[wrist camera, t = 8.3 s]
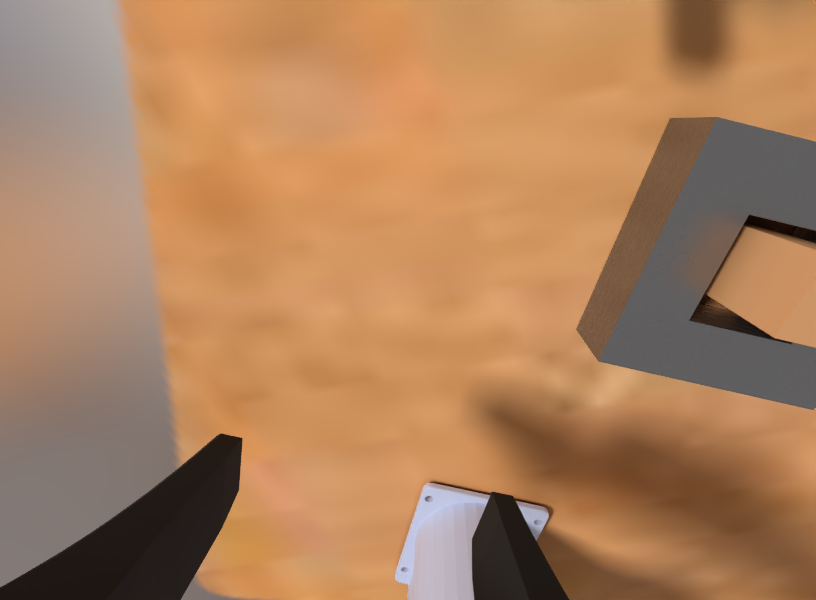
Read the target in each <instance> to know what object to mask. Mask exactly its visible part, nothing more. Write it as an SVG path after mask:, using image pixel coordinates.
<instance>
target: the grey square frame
mask: <svg viewBox="0 0 816 600" xmlns="http://www.w3.org/2000/svg"><path fill="white" fill-rule="evenodd" d="M749 215H753V216H757V217H761V218H765V219H769V220H774V221H778V222H782V223H786V224H790V225H794V226H796V228H795V229H794V231H793V232H792V234H791V236H794V237H797V238H800V239H803V240H806V241H810V242H813V243H816V142H815V141H811V140H807V139H803V138H799V137H795V136H791V135H787V134H783V133H779V132H775V131H771V130H766V129H762V128H758V127H754V126H750V125H746V124H742V123H738V122H734V121H730V120H726V119H722V118H718V117H705V118H670V120H669V123H668V125H667V127H666V129H665V132H664V134H663V136H662V138H661V141H660V143H659V145H658V147H657V150H656V152H655V154H654V156H653V159H652V161H651V163H650V165H649V168H648V170H647V172H646V174H645V177H644V179H643V181H642V183H641V186H640V188H639V190H638V192H637V194H636V197H635V199H634V201H633V203H632V206H631V208H630V210H629V212H628V215H627V217H626V219H625V221H624V224H623V226H622V228H621V230H620V233H619V235H618V237H617V239H616V242H615V244H614V246H613V248H612V251H611V253H610V255H609V257H608V260H607V262H606V264H605V266H604V269H603V271H602V273H601V275H600V278H599V280H598V282H597V284H596V287H595V289H594V291H593V293H592V296H591V298H590V300H589V302H588V305H587V307H586V309H585V311H584V314H583V316H582V318H581V320H580V323H579V325H578V327H577V329H576V330H577V331H578V332H579V334H580V335H581V337H582V338H583V340H584V341H585V343H586V344H587V346H588V347H589V348H590V350H591V351H592V353H593V354H594V356H595V357H596V359H597V360H598V361H599V362H604V363H608V364H613V365H617V366H621V367H626V368H630V369H635V370H639V371H643V372H648V373H652V374H657V375H661V376H665V377H670V378H674V379H679V380H683V381H687V382H692V383H696V384H701V385H705V386H710V387H714V388H718V389H723V390H727V391H732V392H736V393H740V394H745V395H749V396H754V397H758V398H762V399H767V400H771V401H776V402H780V403H785V404H789V405H793V406H798V407H802V408H807V409H811V410H813V409H814V408H815V407H816V348H815V347H810V346H806V345H802V344H798V343H793V342H789V341H785V340H780V339H776V338H774V337H772V336H770V335H769V334H767V333H766V332H764V331H763V330H761V329H759V328H758V327H756V326H755V325H753V324H752V323H750V322H748V321H747V320H745V319H744V318H742V317H741V316H739V315H737V314H736V313H734V312H733V311H729V310H724V309H720V308H716V307H711V306H707V305H703V304H699V302H700V300H701V298H702V297H703V295H704V293H705V291H706V290H707V288H708V286H709V284H710V283H711V281H712V279H713V277H714V276H715V274H716V272H717V270H718V269H719V267H720V265H721V263H722V262H723V260H724V258H725V256H726V254H727V253H728V251H729V249H730V247H731V246H732V244H733V242H734V240H735V239H736V237H737V235H738V233H739V232H740V230H741V228H742V226H743V225H744V223H745V221H746V219H747V218H748V216H749Z"/></svg>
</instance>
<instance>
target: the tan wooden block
mask: <svg viewBox="0 0 816 600" xmlns="http://www.w3.org/2000/svg"><path fill="white" fill-rule="evenodd" d="M704 294H706V295H708V296H709V297H711V298H712V299H714V300H715V301H717V302H719V303H720V304H722V305H723V306H725V307H726V308H728V309H730V310H731V311H733V312H734V313H736V314H737V315H739V316H741V317H742V318H744V319H745V320H747V321H748V322H750V323H752V324H753V325H755V326H756V327H758V328H759V329H761V330H763V331H764V332H766V333H767V334H769V335H770V336H772V337H774V338H776V339H780V340H785V341H789V342H793V343H798V344H802V345H806V346H810V347H815V348H816V243H813V242H810V241H806V240H803V239H800V238H797V237H794V236H791V235H788V234H784V233H781V232H778V231H775V230H771V229H767V228H763V227H759V226H755V225H751V224H746V223H744V225H743V226H742V228H741V230H740V232H739V233H738V235H737V237H736V239H735V240H734V242H733V244H732V246H731V247H730V249H729V251H728V253H727V254H726V256H725V258H724V260H723V262H722V263H721V265H720V267H719V269H718V270H717V272H716V274H715V276H714V277H713V279H712V281H711V283H710V284H709V286H708V288H707V290H706V291H705V293H704Z"/></svg>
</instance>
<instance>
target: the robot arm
mask: <svg viewBox="0 0 816 600" xmlns="http://www.w3.org/2000/svg"><path fill="white" fill-rule="evenodd" d="M241 452H242V438H239V437H234V436H230V435H225V434H219V435H218V436H216V437H215V438H214V439H213V440H211V441H210V442H209V443H208V444H207V445H206V446H205V447H203V448H202V449H201V450H200V451H199V452H197V453H196V454H195V455H194V456H193V457H192V458H190V459H189V460H188V461H187V462H186V463H184V464H183V465H182V466H181V467H179V468H178V469H177V470H176V471H175V472H173V473H172V474H171V475H170V476H168V477H167V478H166V479H164V480H163V481H162V482H161V483H159V484H158V485H157V486H155V487H154V488H153V489H152V490H150V491H149V492H148V493H146V494H145V495H144V496H142V497H141V498H140V499H138V500H137V501H136V502H134V503H133V504H132V505H130V506H129V507H127V508H126V509H124V510H123V511H122V512H120V513H119V514H117V515H116V516H115V517H113V518H112V519H111V520H109V521H108V522H106V523H105V524H103V525H102V526H100V527H99V528H97V529H96V530H94V531H93V532H91V533H90V534H88V535H87V536H85V537H84V538H82V539H81V540H79V541H78V542H76V543H74V544H73V545H71V546H70V547H68V548H66V549H65V550H63V551H62V552H60V553H58V554H57V555H55V556H53V557H52V558H50V559H48V560H47V561H45V562H43V563H42V564H40V565H38V566H37V567H35V568H33V569H32V570H30V571H28V572H27V573H25V574H23V575H21V576H20V577H18V578H16V579H14V580H13V581H11V582H9V583H7V584H6V585H4V586H2V587H0V600H181V598H182V596H183V594H184V593H185V591H186V589H187V588H188V586H189V584H190V582H191V581H192V579H193V577H194V575H195V574H196V572H197V570H198V569H199V567H200V565H201V563H202V562H203V560H204V558H205V556H206V555H207V553H208V551H209V549H210V548H211V546H212V544H213V543H214V541H215V539H216V537H217V535H218V534H219V532H220V530H221V528H222V526H223V524H224V522H225V520H226V518H227V516H228V513H229V511H230V509H231V507H232V504H233V502H234V500H235V498H236V495H237V493H238V491H239V480H240V466H241ZM427 496H431V497H427ZM548 518H549V514H548V510H547V509H546V508H545V507H542V506H538V505H533V504H529V503H524V502H519V501H515V499H514V497H513V496H510V495H505V494H501V493H496V492H492V493H491V495H487V494H482V493H477V492H472V491H468V490H463V489H458V488H454V487H449V486H444V485H440V484H435V483H427V484H425V485H424V487H423V489H422V492H421V495H420V498H419V501H418V504H417V507H416V510H415V513H414V517H413V520H412V523H411V526H410V529H409V532H408V535H407V538H406V541H405V544H404V547H403V550H402V553H401V556H400V559H399V562H398V565H397V568H396V571H395V580H396V581H398V582H400V583H404V584H408V599H407V600H569V598H568V597H567V595H566V593H565V592H564V590H563V588H562V587H561V585H560V583H559V581H558V580H557V578H556V576H555V574H554V572H553V571H552V569H551V567H550V565H549V564H548V562H547V560H546V558H545V556H544V555H543V553H542V551H541V549H540V547H539V545H538V543H537V539H538V537H539V535H540V533H541V531H542V529H543V528H544V526H545V524H546V522H547V520H548ZM537 519H538V520H537Z"/></svg>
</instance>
